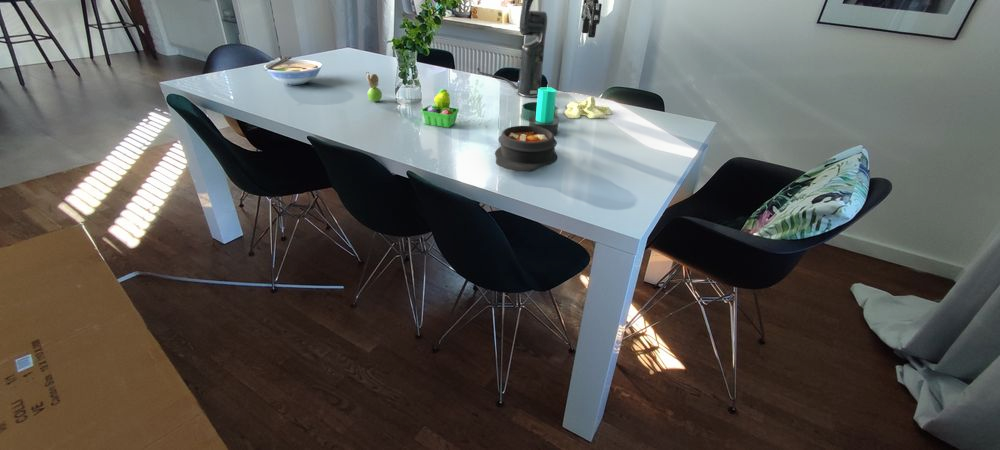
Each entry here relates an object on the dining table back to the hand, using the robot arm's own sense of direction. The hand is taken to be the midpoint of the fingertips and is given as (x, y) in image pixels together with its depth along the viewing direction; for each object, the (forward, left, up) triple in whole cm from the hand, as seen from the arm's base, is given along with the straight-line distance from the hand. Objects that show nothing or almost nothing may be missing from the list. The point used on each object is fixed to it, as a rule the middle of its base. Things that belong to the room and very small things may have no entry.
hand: (588, 35), depth 161 cm
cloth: (-8, +11, -30) cm, 33 cm away
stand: (+4, -18, -30) cm, 35 cm away
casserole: (+24, -38, -30) cm, 54 cm away
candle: (+4, -18, -26) cm, 32 cm away
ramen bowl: (-90, -82, -30) cm, 126 cm away
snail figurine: (-51, -60, -30) cm, 84 cm away
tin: (-10, -10, -30) cm, 33 cm away
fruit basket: (-17, -47, -30) cm, 58 cm away
